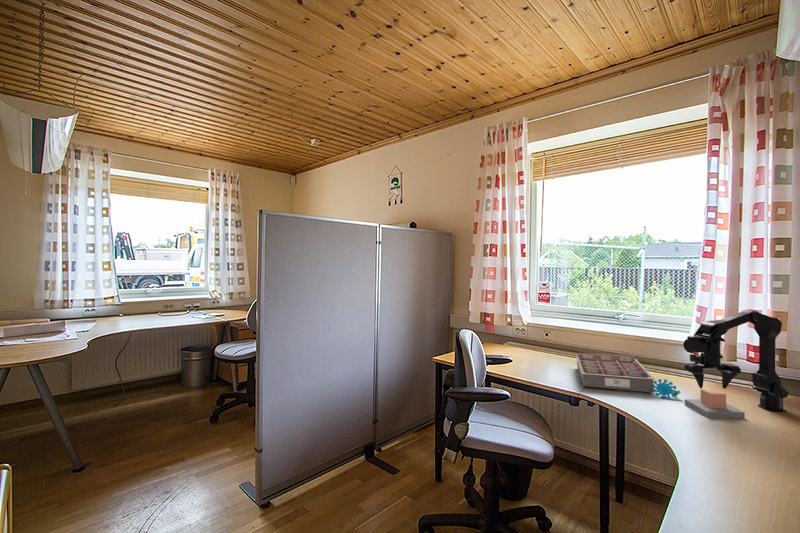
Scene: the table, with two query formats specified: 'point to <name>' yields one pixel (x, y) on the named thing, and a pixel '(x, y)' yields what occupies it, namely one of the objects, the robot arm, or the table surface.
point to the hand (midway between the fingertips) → (712, 388)
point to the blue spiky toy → (665, 389)
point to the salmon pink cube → (713, 398)
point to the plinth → (714, 410)
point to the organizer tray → (613, 372)
